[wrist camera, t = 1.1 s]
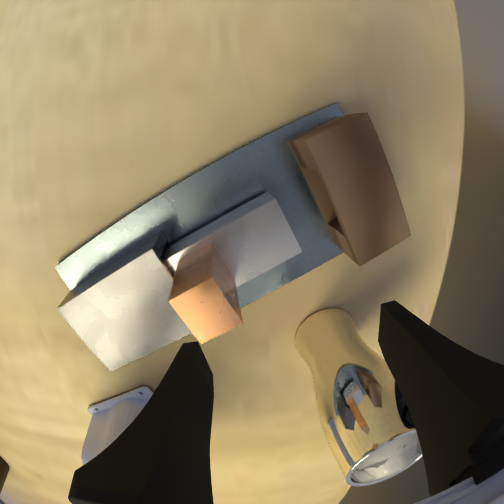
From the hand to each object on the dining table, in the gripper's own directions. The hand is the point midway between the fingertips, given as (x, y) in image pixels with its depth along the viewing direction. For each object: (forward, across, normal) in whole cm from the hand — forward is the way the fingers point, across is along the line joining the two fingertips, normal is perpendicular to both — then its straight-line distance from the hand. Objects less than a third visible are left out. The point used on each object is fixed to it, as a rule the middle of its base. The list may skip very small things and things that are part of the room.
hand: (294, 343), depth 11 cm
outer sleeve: (+13, +4, +1) cm, 14 cm away
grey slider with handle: (+11, +7, +2) cm, 13 cm away
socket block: (+14, -6, -2) cm, 16 cm away
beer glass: (+13, -4, +13) cm, 18 cm away
